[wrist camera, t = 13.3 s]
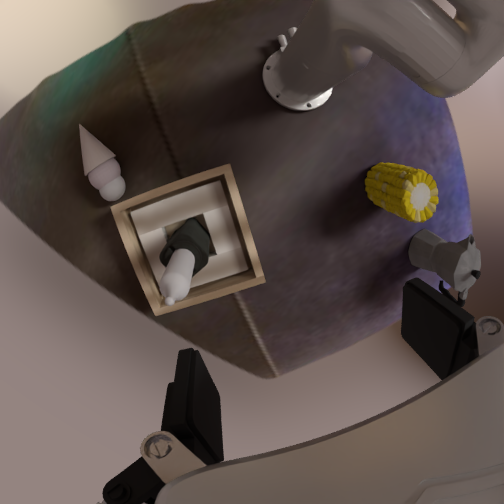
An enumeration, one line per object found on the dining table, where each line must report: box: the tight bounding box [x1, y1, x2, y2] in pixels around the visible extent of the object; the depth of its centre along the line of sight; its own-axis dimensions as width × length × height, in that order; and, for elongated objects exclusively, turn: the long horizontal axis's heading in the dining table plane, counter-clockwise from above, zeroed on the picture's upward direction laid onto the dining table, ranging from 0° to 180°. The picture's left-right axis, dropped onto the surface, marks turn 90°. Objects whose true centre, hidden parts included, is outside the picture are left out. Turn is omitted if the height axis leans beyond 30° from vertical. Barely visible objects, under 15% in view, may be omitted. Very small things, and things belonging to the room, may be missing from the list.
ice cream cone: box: [79, 124, 125, 201], centre depth 38 cm, size 6×6×15 cm
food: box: [365, 162, 438, 223], centre depth 42 cm, size 14×11×9 cm
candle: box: [159, 217, 210, 306], centre depth 34 cm, size 5×5×25 cm
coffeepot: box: [408, 229, 481, 307], centre depth 45 cm, size 15×9×18 cm, turn 5°
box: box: [111, 164, 266, 316], centre depth 43 cm, size 19×19×6 cm
